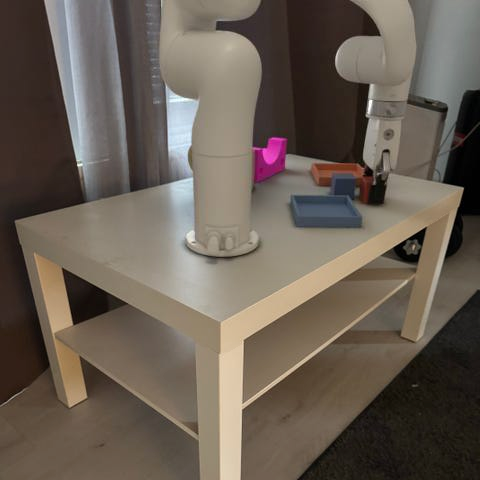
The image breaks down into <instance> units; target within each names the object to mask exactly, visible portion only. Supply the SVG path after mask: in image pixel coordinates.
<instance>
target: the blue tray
mask: <svg viewBox="0 0 480 480" xmlns="http://www.w3.org/2000/svg"><path fill="white" fill-rule="evenodd" d="M289 205H290V208H291V212H292V214H293V217H294V221H295V225H296V227H307V228H308V227H309V228H310V227H311V228H313V227H315V228H362V223H363V216H362V214H361V213H360V211H359V209H358V208H357V206H356V205H355V203H354V201H353V199H350V197H349V196H342V195H331V194H290V202H289Z"/></svg>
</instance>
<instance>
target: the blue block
mask: <svg viewBox="0 0 480 480" xmlns="http://www.w3.org/2000/svg"><path fill="white" fill-rule="evenodd" d="M356 180H357V179H356V178H355V176H354V175H353V174H352V173H332V180H331V186H330V188H329V195H342V196H349V197H350V199H351V200H354V199H355V194H356V193H355V192H356V187H357V186H356Z"/></svg>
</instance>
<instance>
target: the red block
mask: <svg viewBox="0 0 480 480" xmlns="http://www.w3.org/2000/svg"><path fill="white" fill-rule="evenodd" d="M371 184H373V177H362V178H361V184H360V186H359V192H358V198H359V200H360V201H361V203H362V204H370V203H369V202H368V197H369V191H370V185H371ZM387 187H388V184H387V185H386V189H388V188H387ZM386 192H387V190H386V191H385V196H384V200H385V199H386V194H387V193H386ZM382 204H385V201H384V202H383V203H382Z"/></svg>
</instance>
